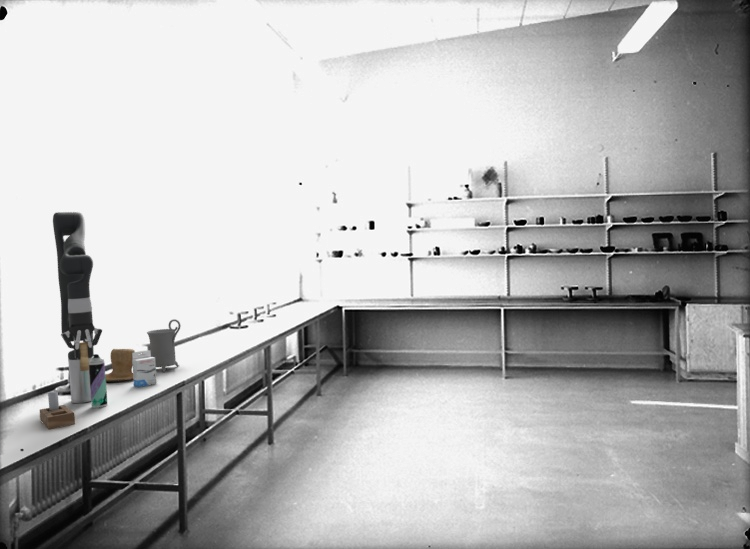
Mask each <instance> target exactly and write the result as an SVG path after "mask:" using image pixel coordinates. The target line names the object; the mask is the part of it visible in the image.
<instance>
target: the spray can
mask: <svg viewBox="0 0 750 549" xmlns="http://www.w3.org/2000/svg"><path fill="white" fill-rule="evenodd" d="M105 374H106V367H105V359H103V358H102V357H100V356H99V354H97V353H94V357H93V358H92V359H91V360H90V361H89V375H90V389H91V401H90V402H91V408H93V409H94V408H95V409H97V408H99V407H100V408H104V407H106V406H105V405H107V406H108V394H107V393H108V392H107V382H106V377H105ZM103 406H104V407H103Z"/></svg>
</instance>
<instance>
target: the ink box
mask: <svg viewBox="0 0 750 549" xmlns="http://www.w3.org/2000/svg"><path fill="white" fill-rule="evenodd" d="M132 357H133V360H132V364H133V366H132V373H133V379H132V380H133V386H134V387H137V388H140V387H145V386H146V387H147V386H151V384H152V385H156V383H157V382H158V381H157V369H156V368H157V367H156V364H155V357H151V352H150V349H148V350H141V351H140V350H139V351H135V352H133V353H132ZM157 384H158V383H157Z"/></svg>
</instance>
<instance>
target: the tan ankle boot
mask: <svg viewBox="0 0 750 549" xmlns="http://www.w3.org/2000/svg"><path fill="white" fill-rule="evenodd" d="M133 352H136V351H135V349H133V348H113V349H111V352H110V362H111V366H112V370H111V372H109V373H105V377H106V383H107V382H108V383H109V382H111V381H116V382H126V381H130V380H133V364H132V360H133V357H132V353H133ZM125 380H126V381H125Z"/></svg>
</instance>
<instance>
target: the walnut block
mask: <svg viewBox="0 0 750 549" xmlns="http://www.w3.org/2000/svg"><path fill="white" fill-rule="evenodd" d="M39 420H41V421H42V422H43V423H42V422H41V421H40V422H41V423H42V424H43V426H45V427H46V428H47V429H48V430H52V429H57V427H58V428H61V427H62V426H63V427H67V426H66V425H68V426H71V425H70V424H72V425H76V418H75V412H74V411H73V410H72V409H71V408H69V407H68V406H66V405H65V404H63V405H59V410H53V411H49V407H47V408H46V407H45V408H42V409H41V408H40V409H39ZM63 427H62V428H63Z"/></svg>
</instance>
